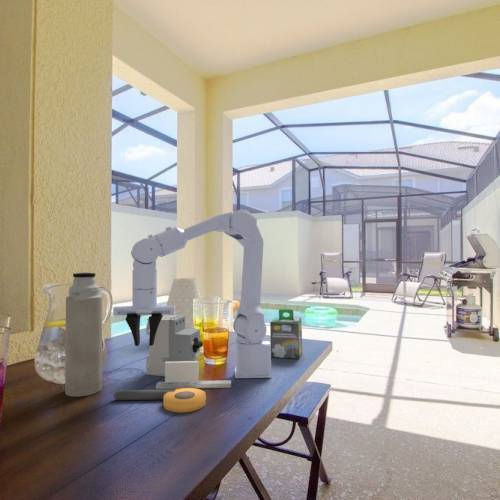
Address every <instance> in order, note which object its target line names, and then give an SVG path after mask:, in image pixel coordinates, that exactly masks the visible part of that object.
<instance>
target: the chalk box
mask: <svg viewBox="0 0 500 500" xmlns="http://www.w3.org/2000/svg"><path fill="white" fill-rule="evenodd" d="M284 313H286V314H289V315H288V316H285V315H284ZM269 324H270V325H269V329H270V333H269V334H270V347H271V358H279V359H281V358H282V359H294V360H299V359H300V358H301V355H302V353H303V331H302V330H303V329H302V328H303V327H302V317H299V316H298V317H295V316H294V309H283V308H281V309H278V316H276V317H274V318H273V319H272V320H271V321H270V323H269Z"/></svg>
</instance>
